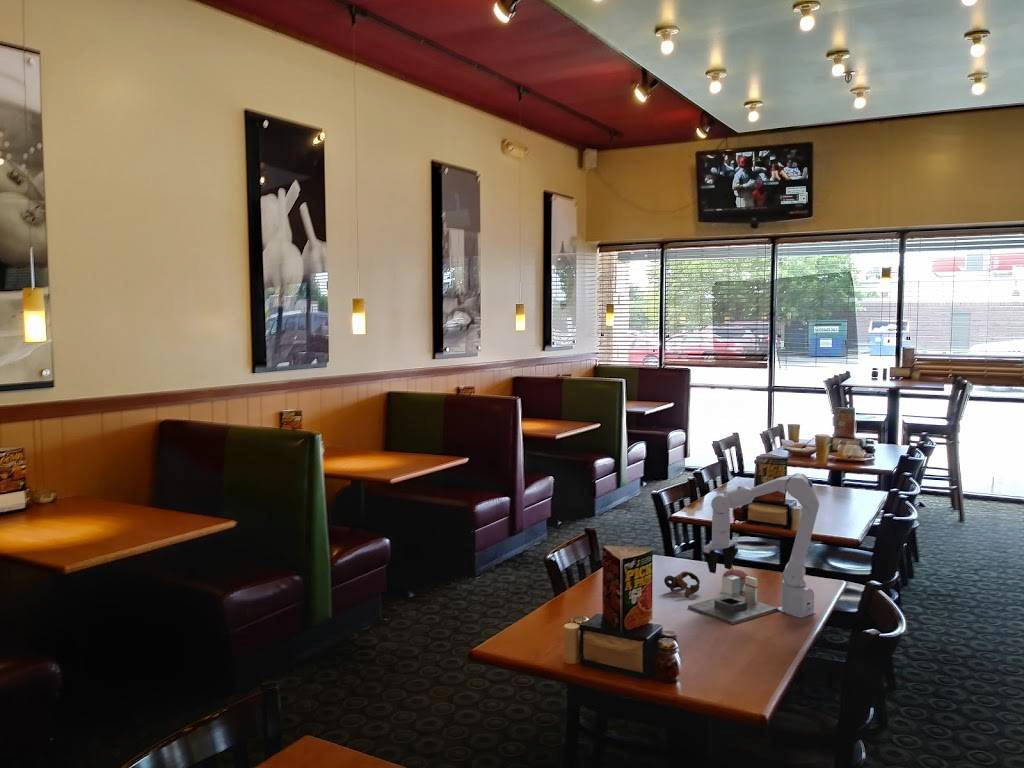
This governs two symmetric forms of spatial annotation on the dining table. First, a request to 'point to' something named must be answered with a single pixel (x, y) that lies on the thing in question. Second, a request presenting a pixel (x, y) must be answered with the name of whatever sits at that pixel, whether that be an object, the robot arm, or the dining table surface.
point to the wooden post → (731, 586)
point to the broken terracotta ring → (682, 583)
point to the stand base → (735, 605)
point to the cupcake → (738, 574)
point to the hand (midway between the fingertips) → (720, 570)
